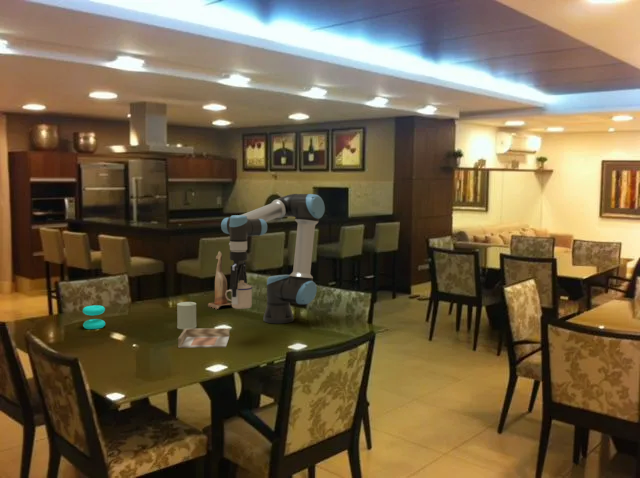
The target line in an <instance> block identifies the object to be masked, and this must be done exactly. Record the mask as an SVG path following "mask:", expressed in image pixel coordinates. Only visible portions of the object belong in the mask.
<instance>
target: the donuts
mask: <svg viewBox="0 0 640 478" xmlns="http://www.w3.org/2000/svg"><path fill="white" fill-rule="evenodd" d="M105 311H106V307H104V306H103V305H100V304H99V305H98V304H96V305H87V306H85V307H83V308H82V313H83V315H85V316H99V315H102V314H103V313H105ZM82 326H83V328H84V329H86V330H99V329H103V328H104V327H105V326H106V322H105V320H103V319H100V318H90V319H87V320H85V321H84V322H83V324H82Z"/></svg>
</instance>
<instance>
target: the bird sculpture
mask: <svg viewBox="0 0 640 478" xmlns="http://www.w3.org/2000/svg"><path fill="white" fill-rule="evenodd" d="M215 260H217V264H216V269H215V278H214V302H213V301H212V302H209V303H208V304H207V307H208V308H211V307H212V308H211V309H214V308H215V310H217V309H218V310H219V309H220V308H221V307H222V306H229V307H232V302H228V300H227V298H226V296H225V293H226V291H227V290H228V280H227V278H226V277H227V276H225V274H224V273H223V254H222V252H221V251H220V250H218V253H217V255H216V256H215Z"/></svg>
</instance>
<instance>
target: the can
mask: <svg viewBox="0 0 640 478" xmlns="http://www.w3.org/2000/svg"><path fill="white" fill-rule="evenodd" d="M176 306H177V307H176V310H177V312H176V315H177V318H176V319H177V323H176V328H177V329H178V330H184V329H197V303H196V302H193V301H182V302H178V303H176Z"/></svg>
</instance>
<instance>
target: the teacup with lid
mask: <svg viewBox="0 0 640 478" xmlns="http://www.w3.org/2000/svg"><path fill="white" fill-rule="evenodd" d="M239 282H240V283H239ZM252 286H253V285H251V284H248V282H247V283H244V280H240V281H238V287H237V289H238V305H236V304H232V306H231V307H232V308H233V309H239V310H240V309H241V310H243V309H244V310H245V309H250V308H252V302H253V301H252V299H253V295H252V292H253V290H252V289H253V287H252ZM229 292H232V289H227V291H226V293H225V296H226V298H227V301H230V302H232V298H230V297H229V296H228V293H229Z"/></svg>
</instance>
